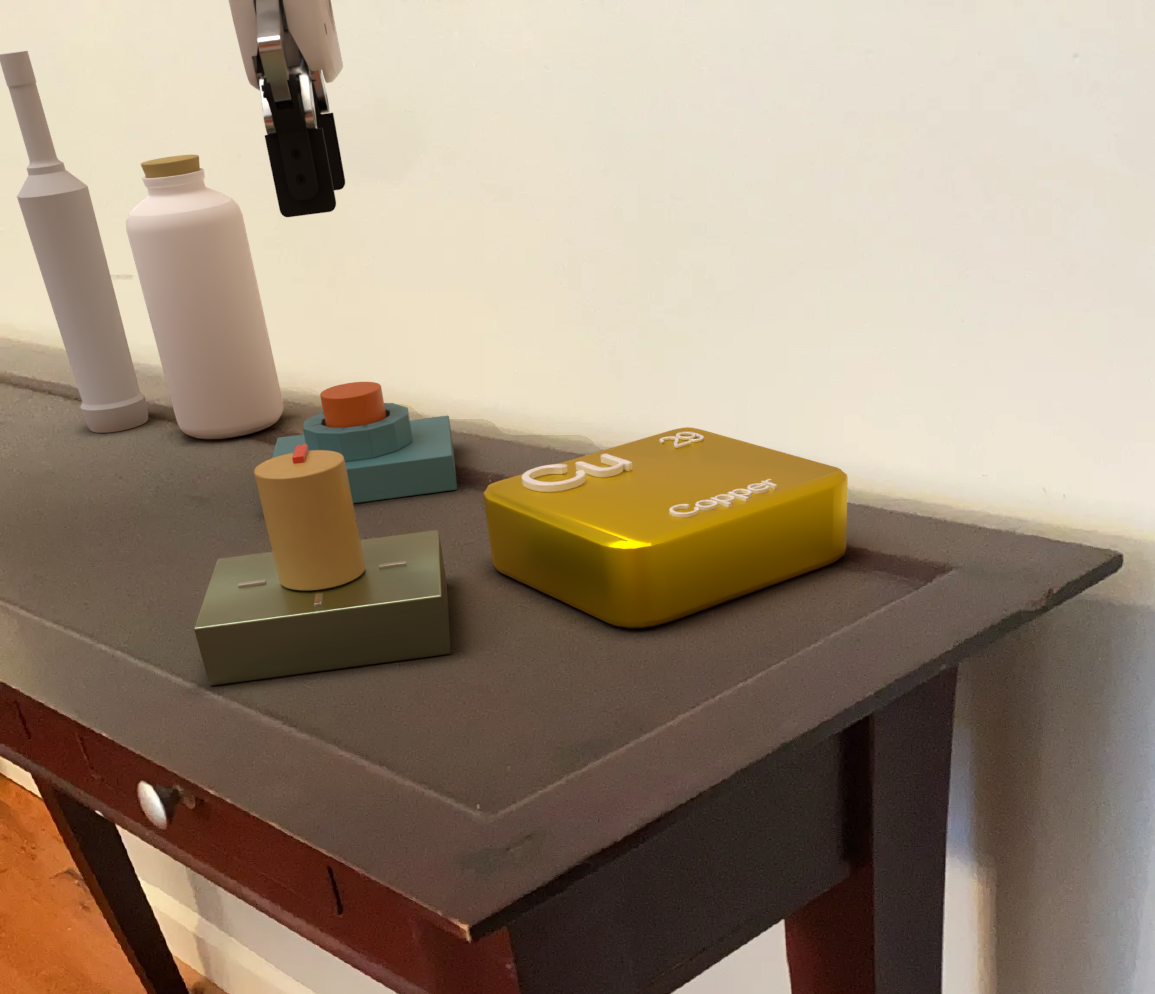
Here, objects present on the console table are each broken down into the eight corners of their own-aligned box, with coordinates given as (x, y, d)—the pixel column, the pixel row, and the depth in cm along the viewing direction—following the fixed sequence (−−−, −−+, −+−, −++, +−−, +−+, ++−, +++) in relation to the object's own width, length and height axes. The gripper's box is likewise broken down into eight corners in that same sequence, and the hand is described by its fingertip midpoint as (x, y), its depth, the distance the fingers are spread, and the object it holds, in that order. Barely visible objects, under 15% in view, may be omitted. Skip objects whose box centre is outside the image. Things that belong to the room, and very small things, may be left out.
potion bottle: (307, 413, 111) (251, 146, 100) (245, 444, 105) (180, 165, 94) (222, 411, 114) (160, 153, 103) (158, 442, 108) (85, 172, 97)
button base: (273, 514, 91) (258, 450, 88) (284, 470, 98) (270, 410, 96) (457, 490, 91) (447, 425, 88) (453, 447, 99) (444, 387, 96)
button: (325, 434, 91) (318, 401, 90) (327, 419, 94) (321, 386, 93) (386, 426, 91) (380, 393, 90) (387, 411, 94) (381, 378, 93)
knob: (362, 585, 70) (339, 464, 66) (274, 595, 70) (246, 475, 66) (368, 555, 73) (345, 439, 69) (284, 565, 73) (257, 449, 70)
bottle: (76, 427, 115) (-36, 58, 99) (134, 412, 117) (33, 49, 102) (103, 437, 111) (-9, 56, 96) (161, 420, 114) (61, 46, 98)
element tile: (632, 638, 68) (624, 540, 66) (479, 565, 79) (466, 478, 76) (863, 555, 74) (865, 462, 71) (692, 497, 85) (688, 414, 82)
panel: (209, 686, 69) (192, 625, 67) (230, 612, 77) (215, 555, 75) (451, 654, 69) (441, 592, 67) (447, 583, 77) (437, 526, 75)
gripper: (303, -195, 67) (372, 215, 77) (326, -168, 80) (382, 176, 91) (146, -175, 67) (236, 232, 77) (196, -151, 80) (267, 191, 91)
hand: (315, 202), depth 84 cm, fingers open, 9 cm apart
